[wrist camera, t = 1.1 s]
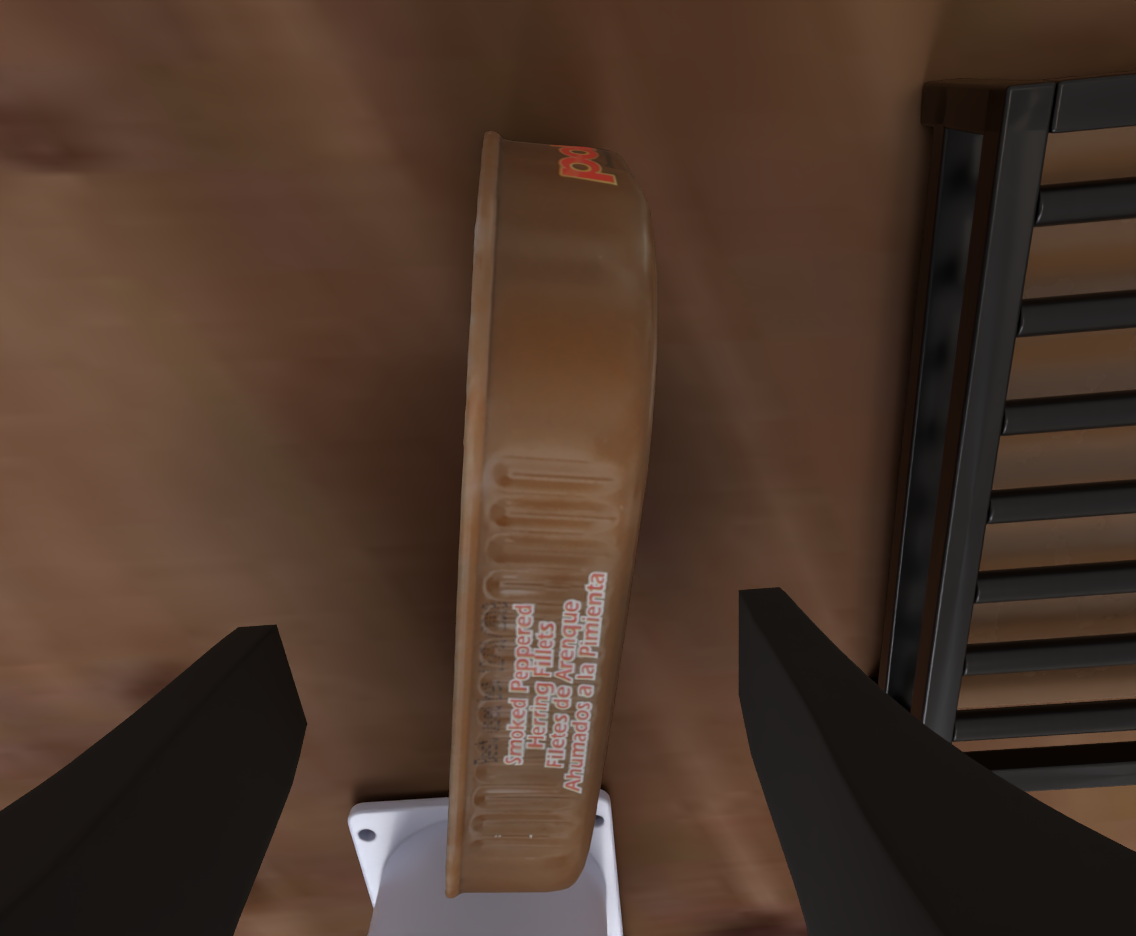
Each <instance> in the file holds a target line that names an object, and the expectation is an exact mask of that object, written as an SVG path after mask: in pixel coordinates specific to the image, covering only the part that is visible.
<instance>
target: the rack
mask: <svg viewBox="0 0 1136 936" xmlns="http://www.w3.org/2000/svg"><path fill="white" fill-rule="evenodd" d="M921 124H922V125H925V126H931V127H934V132H933V142H932V151H931V161H930V171H929V181H928V191H927V201H926V211H925V221H924V231H923V241H922V251H921V261H920V271H919V281H918V291H917V301H916V311H915V321H914V331H913V340H912V350H911V360H910V370H909V380H908V390H907V400H906V410H905V420H904V430H903V440H902V450H901V460H900V470H899V480H898V490H897V500H896V510H895V519H894V529H893V539H892V549H891V559H890V569H889V579H888V589H887V599H886V609H885V619H884V629H883V639H882V649H881V659H880V669H879V679H872V681H874V682H875V683H876V684H877V685H878V686H879V687H880V688H881V689H883V690H884V691H885V692H886V693H887V694H888V695H889V696H891V697H892V698H893V699H894V700H895V701H897V702H898V703H899V704H900V705H901V706H902V707H904V708H905V709H906V710H907V711H908V712H910V713H911V714H912V715H913V716H915V717H916V718H917V719H918V720H920V721H921V722H922V723H923V724H925V725H926V726H927V727H928V728H930V729H931V730H933V731H934V732H935V733H937V734H938V735H940V736H941V737H942V738H944V739H945V740H947V741H948V742H949V743H951V744H952V741H953V742H957V741H972V740H988V739H1003V738H1019V737H1035V736H1050V735H1066V734H1081V733H1097V732H1112V731H1128V730H1136V699H1122V700H1107V701H1092V702H1077V703H1062V704H1047V705H1031V706H1016V707H1001V708H986V709H971V710H957V709H962V708H977V707H992V706H1007V705H1022V704H1037V703H1052V702H1068V701H1083V700H1098V699H1113V698H1128V697H1136V71H1126V72H1116V73H1105V74H1095V75H1085V76H1075V77H1065V78H1055V79H1044V80H1042V81H1032V80H996V79H951V80H941V81H931V82H927V83H925V85H924V90H923V101H922V111H921ZM963 753H965V754H966V755H967V756H969V757H970V758H972V759H973V760H975V761H976V762H978V763H979V764H981V765H982V766H984V767H986V768H987V769H989V770H990V771H992V772H993V773H995V774H996V775H998V776H1000V777H1001V778H1003V779H1005V780H1006V781H1008V782H1009V783H1011V784H1013V785H1014V786H1016V787H1018V788H1019V789H1021V790H1023V791H1024V792H1028V791H1044V790H1060V789H1077V788H1093V787H1109V786H1125V785H1136V741H1128V742H1112V743H1096V744H1081V745H1065V746H1049V747H1034V748H1018V749H1002V750H986V751H971V752H963Z"/></svg>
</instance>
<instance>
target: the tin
mask: <svg viewBox="0 0 1136 936" xmlns="http://www.w3.org/2000/svg"><path fill="white" fill-rule="evenodd" d="M474 230H475V239H474V257H473V274H472V294H471V320H470V331H469V348H468V368H467V385H466V393H467V400H466V410H465V430H464V440H463V445H464V456H463V474H462V490H461V522H460V539H459V561H458V588H457V604H456V628H455V632H456V639H455V656H454V661H455V666H454V688H453V707H452V738H451V757H450V781H449V807H448V825H447V845H446V865H445V885H446V889H445V895H446V897H447V898H455V897H456V896H458V895H459V894H461V893H523V892H553V891H560V890H564V889H567V888H569V887H571V886H572V885H573V884H575V882H576V881H577V880H578V878H579V877H580V875H581V873H582V871H583V869H584V866H585V863H586V860H587V856H588V853H589V850H590V845H591V840H592V835H593V830H594V824H595V819H596V812H597V804H598V799H599V794H600V788H601V782H602V775H603V769H604V764H605V758H606V753H607V747H608V738H609V731H610V726H611V721H612V715H613V708H614V702H615V695H616V689H617V682H618V675H619V668H620V661H621V653H622V648H623V642H624V636H625V629H626V623H627V616H628V608H629V601H630V593H631V585H632V578H633V573H634V568H635V561H636V551H637V544H638V537H639V530H640V523H641V515H642V508H643V501H644V494H645V487H646V480H647V474H648V464H649V454H650V444H651V434H652V423H653V411H654V399H655V384H656V366H657V349H658V281H657V267H656V254H655V242H654V235H653V228H652V220H651V213H650V210H649V207H648V204H647V201H646V198H645V195H644V193H643V191H642V189H641V188H640V186H639V185H638V183H637V182H636V180H635V179H634V177H633V175H632V174H631V172H630V170H629V168H628V165H627V164H626V162H625V161H624V160H623V158H622V157H620V156H619V155H618V154H616V153H614V152H611V151H608V150H603V149H596V148H589V147H579V146H564V145H549V144H539V143H530V142H520V141H512V140H507V139H503V138H502V137H501V136H500V135H499V133H496V132H494V131H487V132H485V134H484V139H483V148H482V156H481V171H480V177H479V191H478V199H477V218H476V224H475V229H474Z"/></svg>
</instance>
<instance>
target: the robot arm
mask: <svg viewBox="0 0 1136 936" xmlns="http://www.w3.org/2000/svg"><path fill="white" fill-rule="evenodd" d="M739 698H740V703H741V708H742V713H743V718H744V723H745V728H746V732H747V737H748V742H749V747H750V751H751V755H752V759H753V762H754V765H755V768H756V771H757V774H758V777H759V780H760V783H761V786H762V789H763V792H764V795H765V798H766V801H767V804H768V807H769V810H770V813H771V816H772V819H773V822H774V825H775V828H776V831H777V834H778V837H779V840H780V843H781V846H782V849H783V852H784V855H785V858H786V861H787V864H788V867H789V870H790V873H791V876H792V879H793V882H794V885H795V888H796V891H797V895H798V898H799V902H800V905H801V909H802V912H803V915H804V919H805V922H806V926H807V931H808V935H809V936H1136V852H1135V851H1133V850H1131V849H1129V848H1127V847H1125V846H1123V845H1121V844H1119V843H1117V842H1115V841H1113V840H1111V839H1109V838H1107V837H1105V836H1103V835H1101V834H1100V833H1098V832H1096V831H1094V830H1092V829H1090V828H1088V827H1086V826H1084V825H1082V824H1080V823H1078V822H1076V821H1075V820H1073V819H1071V818H1069V817H1067V816H1066V815H1064V814H1062V813H1060V812H1058V811H1057V810H1055V809H1053V808H1051V807H1049V806H1048V805H1046V804H1044V803H1042V802H1041V801H1039V800H1037V799H1036V798H1034V797H1032V796H1031V795H1029V794H1027V793H1026V792H1024V791H1023V790H1021V789H1019V788H1018V787H1016V786H1014V785H1013V784H1011V783H1009V782H1008V781H1006V780H1005V779H1003V778H1001V777H1000V776H998V775H996V774H995V773H993V772H992V771H990V770H989V769H987V768H986V767H984V766H982V765H981V764H979V763H978V762H976V761H975V760H973V759H972V758H970V757H969V756H967V755H966V754H965V753H963V752H962V751H960V750H959V749H958V748H956V747H955V746H953V745H952V744H951V743H949V742H948V741H947V740H945V739H944V738H942V737H941V736H940V735H938V734H937V733H935V732H934V731H933V730H931V729H930V728H928V727H927V726H926V725H925V724H923V723H922V722H921V721H920V720H918V719H917V718H916V717H915V716H913V715H912V714H911V713H910V712H908V711H907V710H906V709H905V708H904V707H902V706H901V705H900V704H899V703H898V702H897V701H895V700H894V699H893V698H892V697H891V696H889V695H888V694H887V693H886V692H885V691H884V690H883V689H881V688H880V687H879V686H878V685H877V684H876V683H875V682H874V681H872V680H871V679H870V678H869V677H868V676H867V675H866V674H865V673H864V672H863V671H862V670H861V669H860V668H859V667H857V666H856V665H855V664H854V663H853V662H852V661H851V660H850V659H849V658H848V657H847V656H846V655H845V654H844V653H843V652H842V651H841V650H840V649H839V648H838V647H837V646H836V645H835V644H834V643H833V642H832V641H831V640H830V639H829V638H828V637H827V636H826V635H825V634H824V633H823V632H822V631H821V630H820V629H819V628H818V627H817V626H816V625H815V624H814V623H813V622H812V621H811V620H810V619H809V618H808V616H807V615H806V614H805V613H804V612H803V611H802V610H801V609H800V608H799V607H798V606H797V605H796V603H795V602H794V601H793V600H792V599H791V598H790V597H789V596H788V595H787V594H786V593H785V592H784V591H783V590H782V589H781V588H780V587H777V588H763V589H750V590H739ZM306 726H307V721H306V718H305V715H304V712H303V709H302V705H301V702H300V699H299V696H298V693H297V689H296V686H295V683H294V680H293V676H292V673H291V670H290V667H289V664H288V660H287V657H286V654H285V651H284V648H283V644H282V641H281V638H280V635H279V631H278V628H277V625H263V626H250V627H238V628H237V629H236V630H234V631H233V632H231V633H230V634H229V635H227V636H226V637H225V638H224V639H222V640H221V641H220V642H219V643H217V644H216V645H215V646H214V647H212V648H211V649H210V650H209V651H208V652H206V653H205V654H204V655H203V656H202V657H200V658H199V659H198V660H197V661H196V662H195V663H193V664H192V665H191V666H190V667H189V668H187V669H186V670H185V671H184V672H183V673H182V674H180V675H179V676H178V677H177V678H176V679H174V680H173V681H172V682H171V683H170V684H168V685H167V686H166V687H165V688H164V689H162V690H161V691H160V692H159V693H158V694H156V695H155V696H154V697H153V698H152V699H150V700H149V701H148V702H147V703H146V704H144V705H143V706H142V707H141V708H140V709H139V710H137V711H136V712H135V713H134V714H132V715H131V716H130V717H129V718H127V719H126V720H125V721H124V722H122V723H121V724H120V725H118V726H117V727H116V728H115V729H113V730H112V731H111V732H109V733H108V734H107V735H106V736H104V737H103V738H102V739H100V740H99V741H98V742H97V743H95V744H94V745H93V746H91V747H90V748H89V749H88V750H86V751H85V752H84V753H82V754H81V755H80V756H79V757H77V758H76V759H75V760H73V761H72V762H71V763H69V764H68V765H67V766H65V767H64V768H63V769H61V770H60V771H58V772H57V773H56V774H54V775H53V776H51V777H50V778H49V779H47V780H46V781H44V782H43V783H41V784H40V785H39V786H37V787H36V788H34V789H33V790H31V791H30V792H28V793H27V794H25V795H24V796H22V797H21V798H19V799H18V800H16V801H15V802H13V803H12V804H10V805H9V806H7V807H6V808H4V809H3V810H1V811H0V936H233V935H234V932H235V929H236V926H237V923H238V921H239V918H240V916H241V913H242V911H243V908H244V906H245V903H246V901H247V898H248V896H249V893H250V891H251V888H252V886H253V883H254V881H255V878H256V876H257V873H258V871H259V868H260V866H261V863H262V861H263V858H264V856H265V853H266V851H267V848H268V846H269V843H270V841H271V838H272V836H273V833H274V831H275V828H276V825H277V823H278V820H279V818H280V815H281V813H282V810H283V807H284V805H285V802H286V800H287V797H288V794H289V792H290V789H291V786H292V783H293V780H294V776H295V772H296V768H297V764H298V761H299V757H300V753H301V748H302V744H303V739H304V735H305V731H306ZM448 807H449V797H443V798H427V799H411V800H395V801H379V802H364V803H359V804H356V805H355V806H353V807H352V809H351V810H350V813H349V817H348V825H349V829H350V832H351V835H352V839H353V842H354V845H355V849H356V852H357V855H358V859H359V862H360V865H361V869H362V872H363V875H364V879H365V882H366V885H367V888H368V892H369V895H370V898H371V902H372V905H373V908H374V911H373V915H372V920H371V924H370V928H369V932H368V936H623V927H622V917H621V906H620V896H619V885H618V875H617V864H616V853H615V843H614V832H613V822H612V811H611V801H610V797H609V794H607V793H606V792H605V791H604V790H601V789H600V794H599V799H598V804H597V812H596V815H599V816H596V819H595V824H594V830H593V835H592V840H591V845H590V850H589V853H588V856H587V860H586V863H585V866H584V869H583V871H582V873H581V875H580V877H579V878H578V880H577V881H576V882H575V884H573V885H572V886H571V887H569V888H567V889H564V890H560V891H553V892H523V893H461V894H459V895H458V896H456V897H455V898H447V897H446V895H445V889H446V885H445V865H446V845H447V825H448ZM367 829H369V830H367Z"/></svg>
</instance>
